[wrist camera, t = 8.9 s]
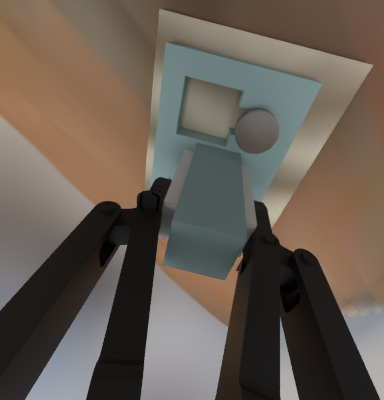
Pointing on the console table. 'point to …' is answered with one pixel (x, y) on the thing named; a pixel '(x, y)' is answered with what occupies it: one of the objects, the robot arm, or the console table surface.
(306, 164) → the boss board
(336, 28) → the console table surface
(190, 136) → the panel
